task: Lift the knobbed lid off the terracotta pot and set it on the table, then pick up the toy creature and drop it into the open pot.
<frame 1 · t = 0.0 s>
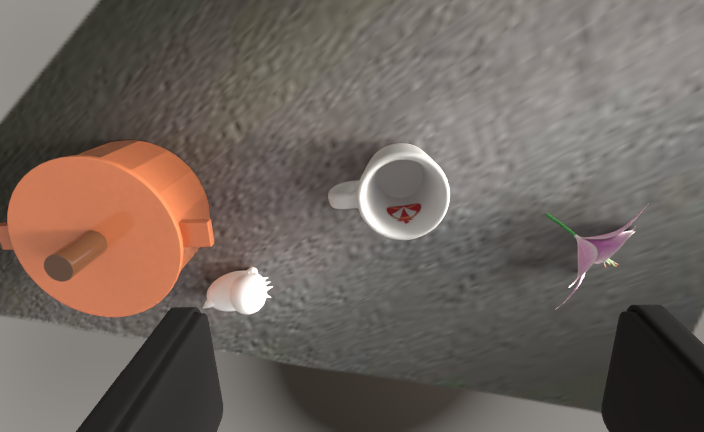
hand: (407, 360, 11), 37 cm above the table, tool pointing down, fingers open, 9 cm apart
pot: (142, 207, 50), on the table
lily: (577, 234, 49), on the table
lid: (98, 239, 42), point 8 cm above the table, touching pot
cup: (385, 174, 47), on the table
toy creature: (244, 280, 53), on the table
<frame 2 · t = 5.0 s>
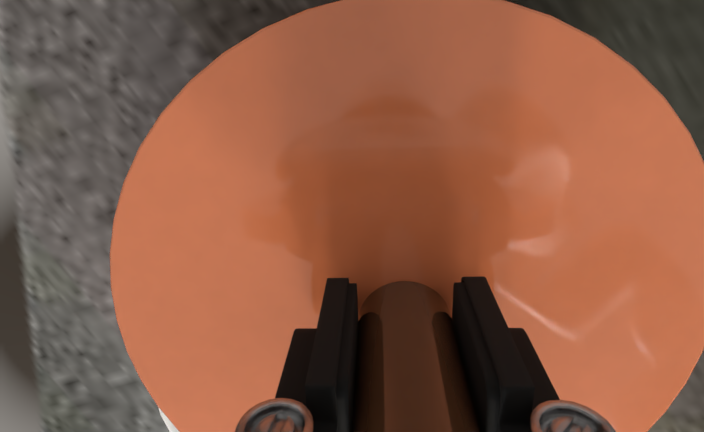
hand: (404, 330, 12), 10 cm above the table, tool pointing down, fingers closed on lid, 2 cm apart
lid: (402, 307, 13), point 9 cm above the table, touching gripper, pot
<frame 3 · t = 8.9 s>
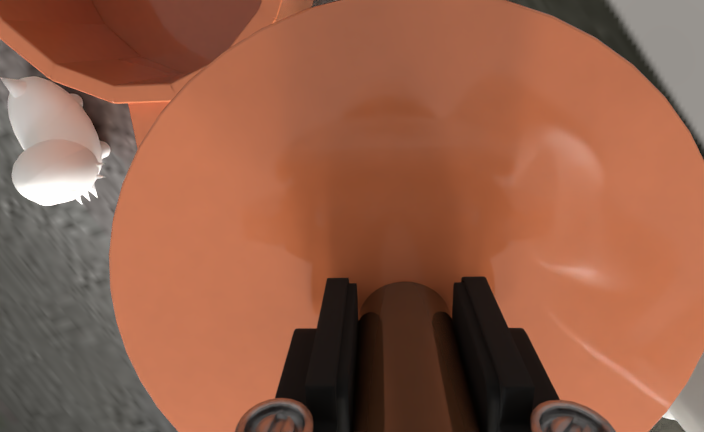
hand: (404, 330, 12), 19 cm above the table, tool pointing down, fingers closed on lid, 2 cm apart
lid: (403, 308, 13), point 18 cm above the table, touching gripper
toy creature: (82, 132, 30), on the table
when the fingers open (2 cm above the table, at t = 12.8 s): lid stays where it is, point 1 cm above the table.
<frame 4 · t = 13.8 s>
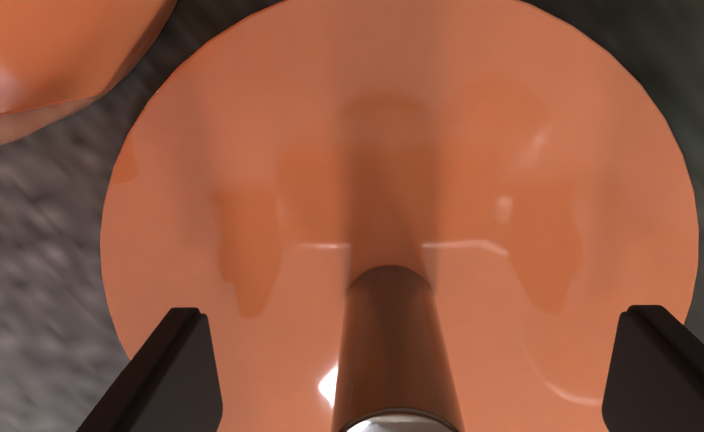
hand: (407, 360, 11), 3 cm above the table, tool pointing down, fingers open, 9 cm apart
lid: (389, 292, 13), point 1 cm above the table
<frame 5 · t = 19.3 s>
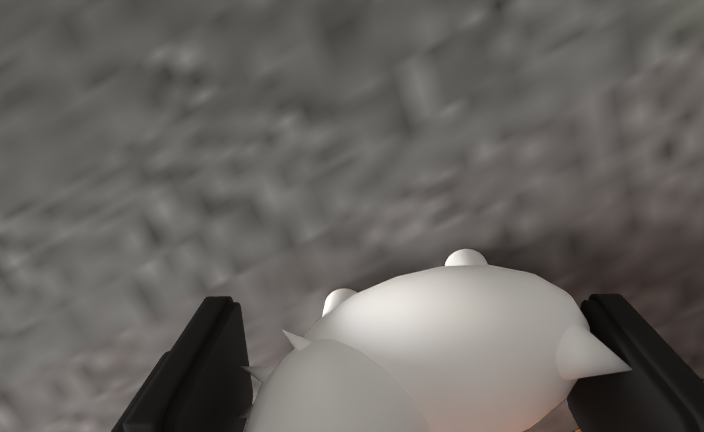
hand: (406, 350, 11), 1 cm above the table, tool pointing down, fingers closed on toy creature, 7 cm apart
toy creature: (405, 312, 13), on the table, touching gripper
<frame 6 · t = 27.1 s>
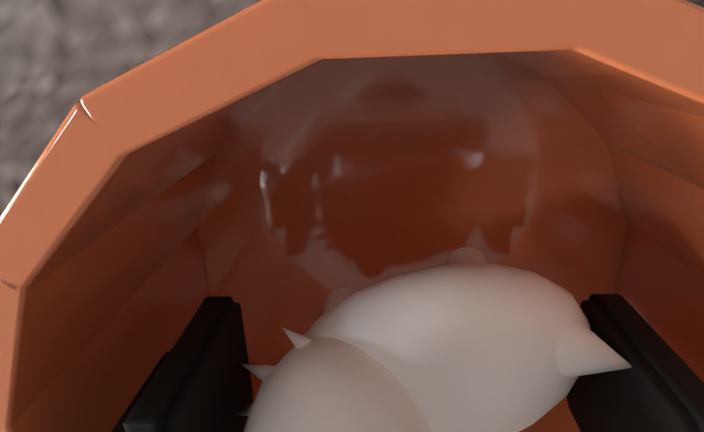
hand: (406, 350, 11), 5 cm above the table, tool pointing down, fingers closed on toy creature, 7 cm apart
pot: (404, 254, 15), on the table
toy creature: (406, 311, 13), point 3 cm above the table, touching gripper
when the fingers open (7 cm above the table, at t = 46.1 s): toy creature drops 5 cm, resting on pot.
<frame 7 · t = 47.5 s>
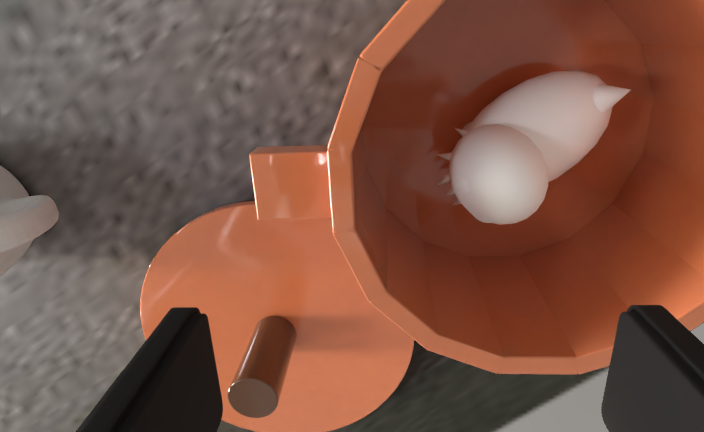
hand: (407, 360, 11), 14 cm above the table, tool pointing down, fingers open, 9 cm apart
pot: (500, 130, 22), on the table
lid: (278, 326, 27), point 1 cm above the table
cup: (13, 199, 26), on the table
toy creature: (508, 129, 22), resting on pot
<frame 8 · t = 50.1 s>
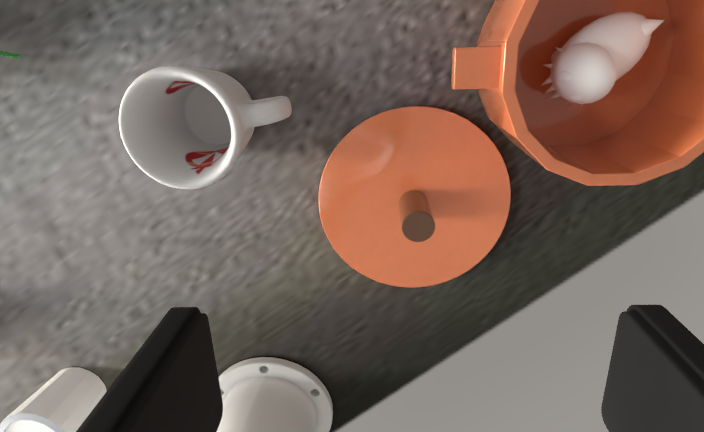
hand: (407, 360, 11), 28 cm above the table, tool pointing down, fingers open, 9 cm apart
white short tapered cylinder: (81, 387, 48), on the table
pot: (574, 57, 34), on the table
lid: (412, 201, 38), point 1 cm above the table
cup: (235, 109, 37), on the table
toy creature: (580, 56, 34), resting on pot
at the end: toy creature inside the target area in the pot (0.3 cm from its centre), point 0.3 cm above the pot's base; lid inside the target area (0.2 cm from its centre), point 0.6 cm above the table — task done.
